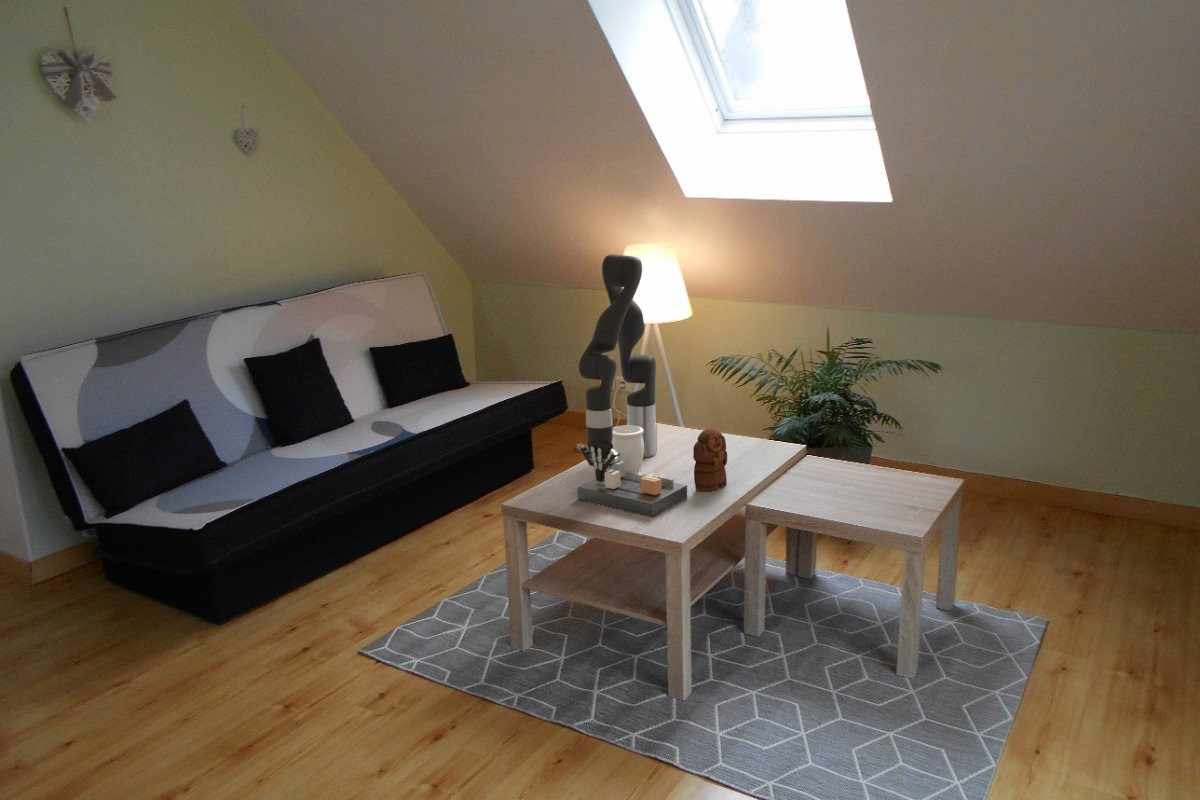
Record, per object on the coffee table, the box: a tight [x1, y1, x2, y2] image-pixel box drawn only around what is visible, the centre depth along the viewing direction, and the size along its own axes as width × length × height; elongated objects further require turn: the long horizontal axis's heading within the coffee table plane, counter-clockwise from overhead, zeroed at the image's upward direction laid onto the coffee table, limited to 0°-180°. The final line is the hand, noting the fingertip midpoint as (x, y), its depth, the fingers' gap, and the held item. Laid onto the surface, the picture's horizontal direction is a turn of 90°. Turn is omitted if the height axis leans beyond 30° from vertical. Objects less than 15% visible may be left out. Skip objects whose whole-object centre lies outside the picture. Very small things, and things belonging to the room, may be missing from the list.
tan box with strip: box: [641, 476, 662, 495], centre depth 282 cm, size 3×5×4 cm, turn 53°
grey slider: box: [609, 460, 625, 478], centre depth 296 cm, size 3×3×5 cm
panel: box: [576, 472, 688, 518], centre depth 289 cm, size 18×26×6 cm
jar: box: [612, 424, 644, 476], centre depth 308 cm, size 11×10×15 cm
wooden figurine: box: [692, 427, 728, 493], centre depth 296 cm, size 12×6×18 cm, turn 141°
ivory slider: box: [605, 469, 621, 489], centre depth 288 cm, size 3×3×5 cm
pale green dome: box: [641, 472, 657, 478], centre depth 291 cm, size 4×4×2 cm
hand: (600, 480), depth 290 cm, fingers closed
